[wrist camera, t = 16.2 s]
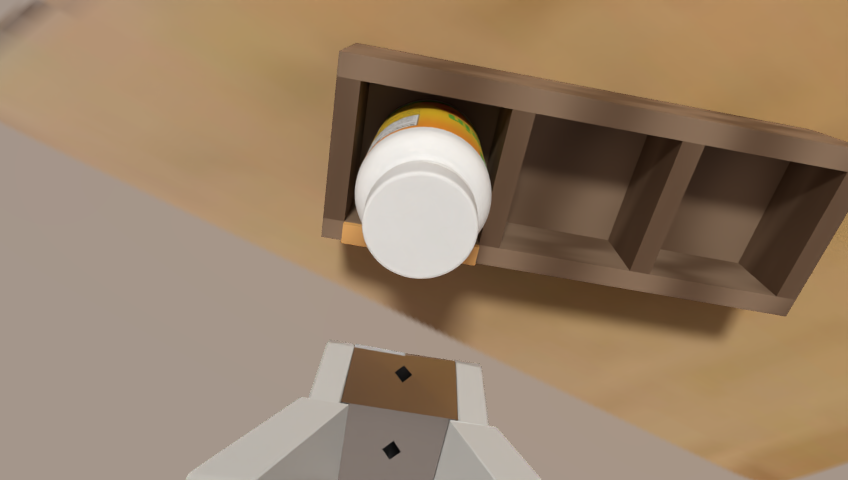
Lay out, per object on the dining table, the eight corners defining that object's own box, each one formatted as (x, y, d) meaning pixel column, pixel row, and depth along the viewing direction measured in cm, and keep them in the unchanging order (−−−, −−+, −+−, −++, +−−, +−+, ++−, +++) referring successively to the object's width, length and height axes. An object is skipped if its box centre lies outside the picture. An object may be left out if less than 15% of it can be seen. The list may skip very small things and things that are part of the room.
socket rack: (811, 129, 25) (887, 156, 21) (735, 276, 29) (787, 323, 25) (356, 43, 24) (337, 51, 20) (338, 206, 28) (319, 243, 24)
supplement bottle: (499, 168, 26) (528, 253, 17) (411, 217, 27) (397, 320, 18) (445, 75, 24) (448, 117, 15) (354, 134, 25) (308, 203, 16)
